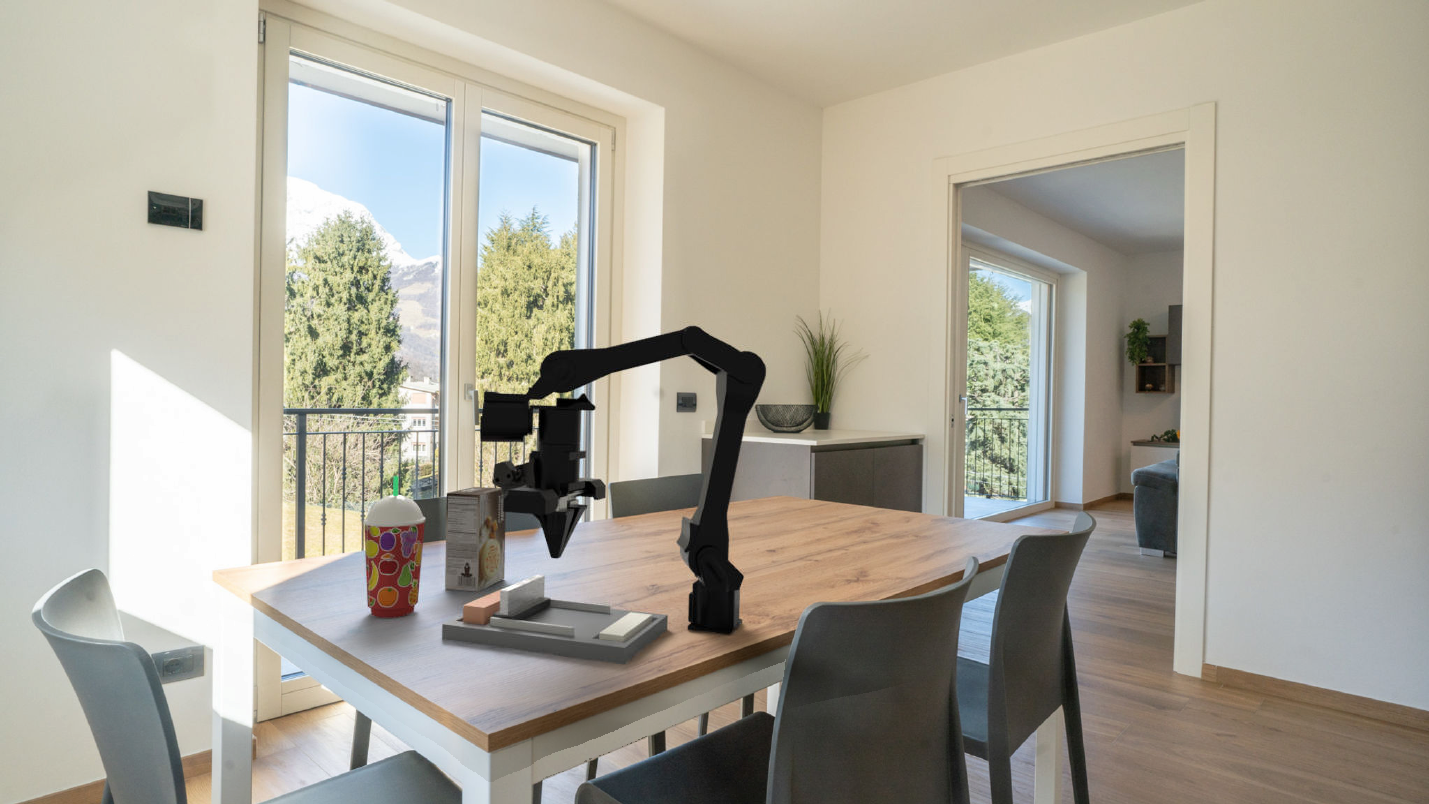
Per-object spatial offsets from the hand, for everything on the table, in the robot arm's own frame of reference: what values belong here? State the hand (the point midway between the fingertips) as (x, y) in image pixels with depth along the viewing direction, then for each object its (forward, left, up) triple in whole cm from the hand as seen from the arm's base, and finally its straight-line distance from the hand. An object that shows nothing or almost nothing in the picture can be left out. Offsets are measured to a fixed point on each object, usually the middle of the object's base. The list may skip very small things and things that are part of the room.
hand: (555, 557), depth 103 cm
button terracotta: (+9, 0, -9) cm, 13 cm away
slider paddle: (+5, 0, -8) cm, 9 cm away
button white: (-11, 0, -10) cm, 15 cm away
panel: (-1, 0, -10) cm, 10 cm away
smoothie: (+26, 0, -11) cm, 28 cm away
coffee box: (+25, -19, -11) cm, 33 cm away
